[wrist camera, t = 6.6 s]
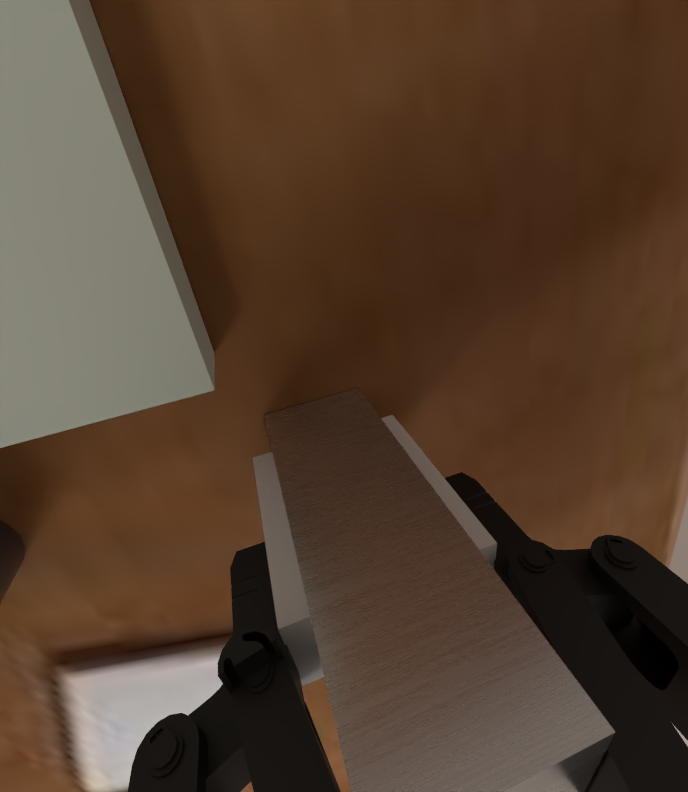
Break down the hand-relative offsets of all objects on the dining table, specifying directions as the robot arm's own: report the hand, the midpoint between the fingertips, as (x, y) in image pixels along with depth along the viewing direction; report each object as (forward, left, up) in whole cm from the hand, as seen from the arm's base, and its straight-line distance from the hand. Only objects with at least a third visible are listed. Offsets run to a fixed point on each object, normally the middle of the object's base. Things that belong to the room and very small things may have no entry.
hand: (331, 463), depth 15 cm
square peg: (0, 0, -2) cm, 2 cm away
